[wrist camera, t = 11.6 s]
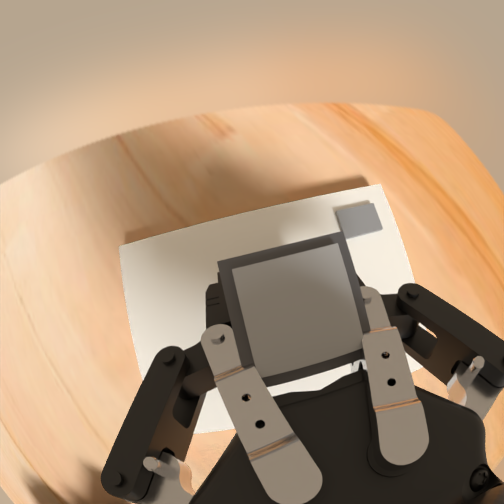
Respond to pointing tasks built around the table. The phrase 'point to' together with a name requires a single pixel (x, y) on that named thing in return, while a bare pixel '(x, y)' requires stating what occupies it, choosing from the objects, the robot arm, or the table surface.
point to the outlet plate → (240, 243)
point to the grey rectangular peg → (295, 308)
